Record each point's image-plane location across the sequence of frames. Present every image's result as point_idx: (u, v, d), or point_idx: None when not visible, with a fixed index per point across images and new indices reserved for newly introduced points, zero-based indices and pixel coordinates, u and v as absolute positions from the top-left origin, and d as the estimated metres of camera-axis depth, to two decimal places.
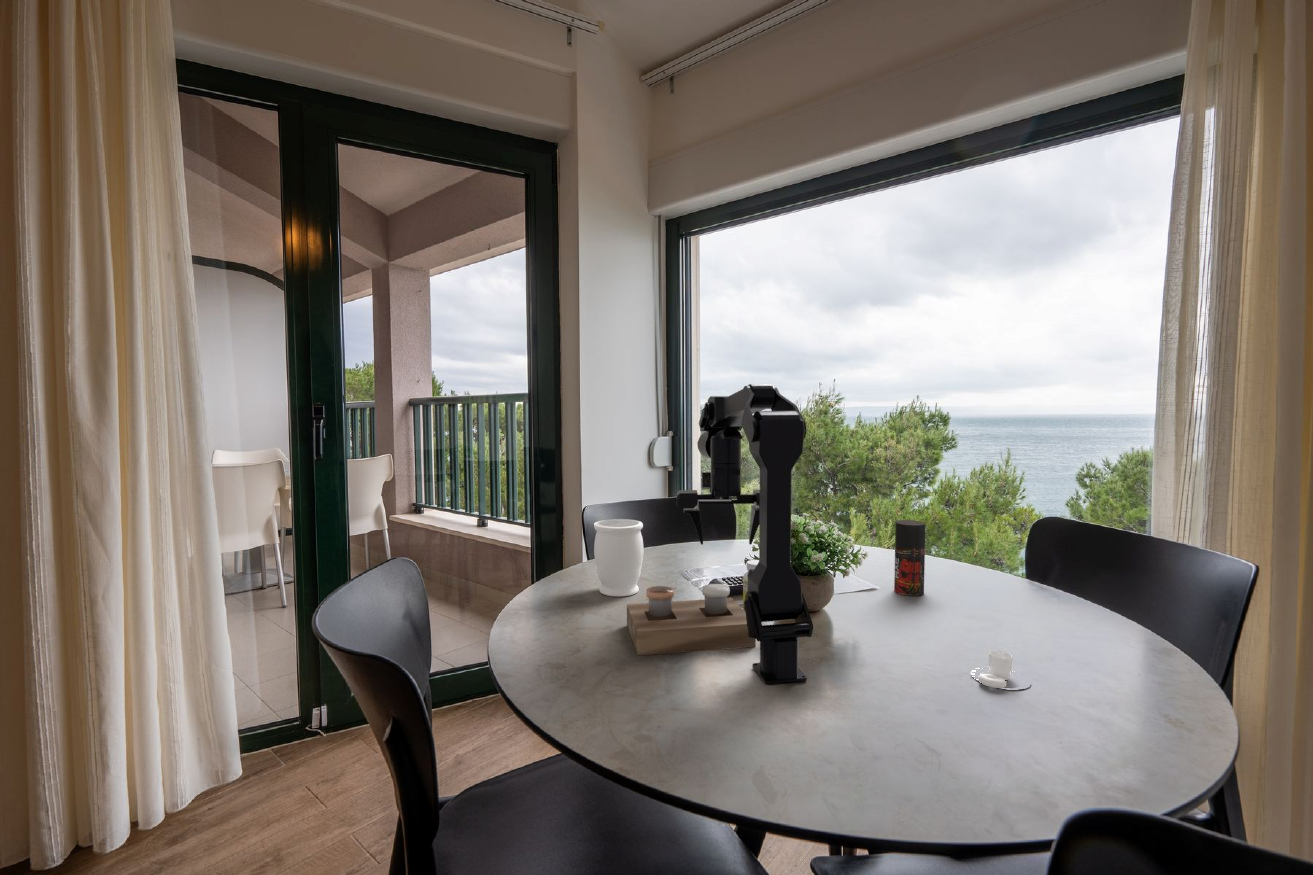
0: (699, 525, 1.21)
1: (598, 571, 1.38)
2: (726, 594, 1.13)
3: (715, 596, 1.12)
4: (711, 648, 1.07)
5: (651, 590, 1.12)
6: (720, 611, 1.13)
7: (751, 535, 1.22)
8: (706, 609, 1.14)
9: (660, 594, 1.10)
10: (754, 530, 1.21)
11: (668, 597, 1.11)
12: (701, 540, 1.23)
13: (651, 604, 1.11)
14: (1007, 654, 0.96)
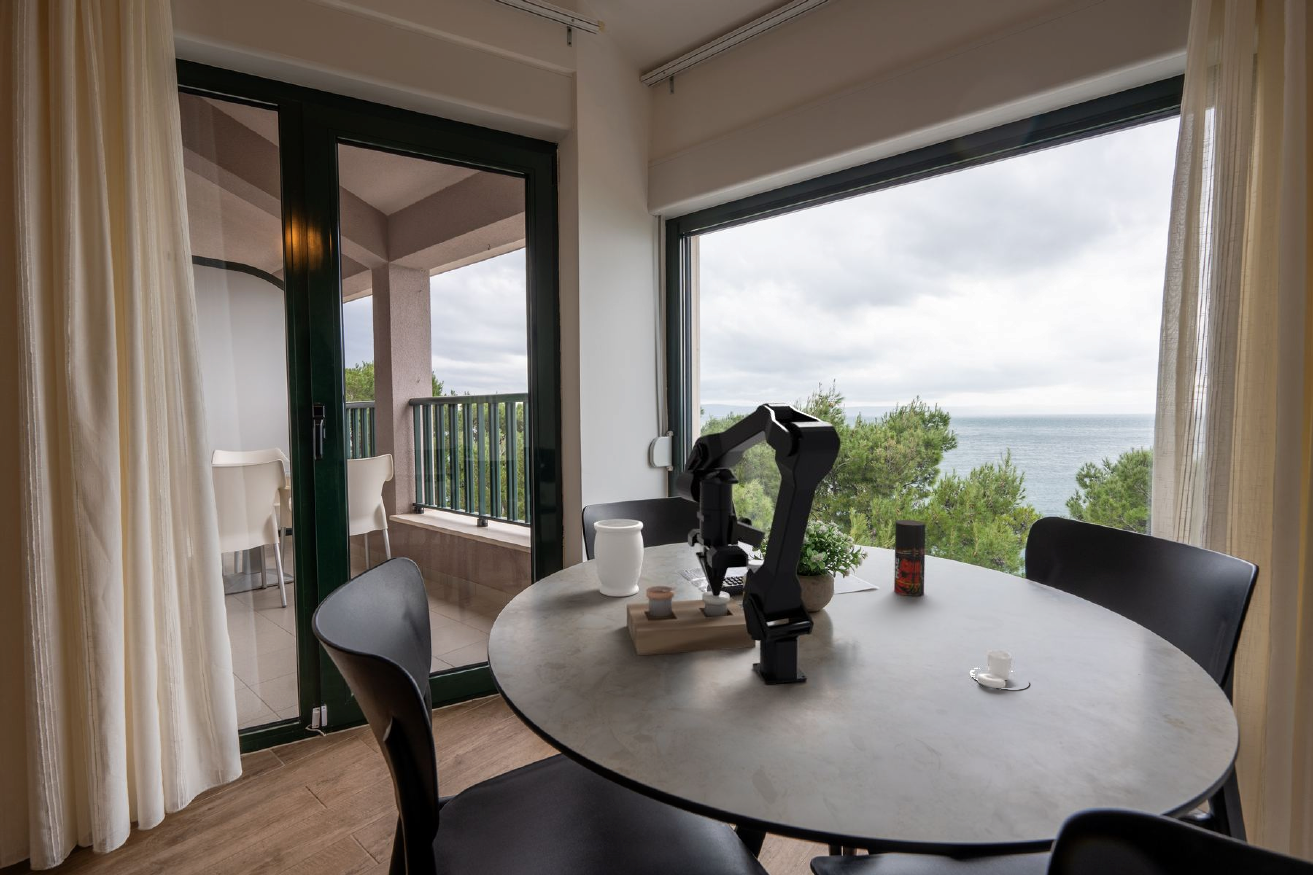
0: (704, 572, 1.14)
1: (598, 571, 1.38)
2: (726, 601, 1.13)
3: (715, 603, 1.12)
4: (711, 648, 1.07)
5: (651, 590, 1.12)
6: None
7: (709, 585, 1.14)
8: (706, 616, 1.14)
9: (660, 594, 1.10)
10: (708, 580, 1.13)
11: (668, 597, 1.11)
12: (711, 589, 1.14)
13: (651, 604, 1.11)
14: (1006, 654, 0.97)
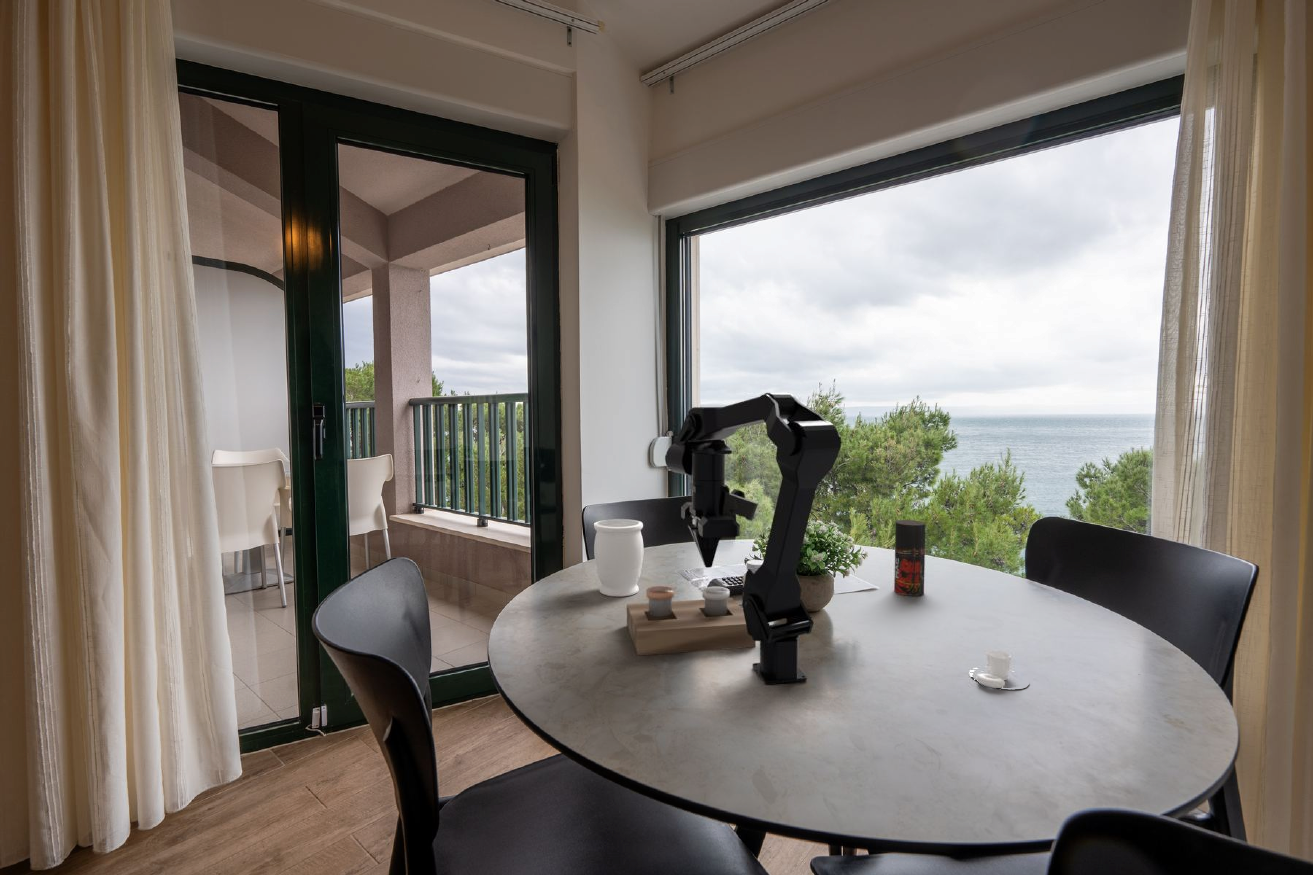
0: (696, 544, 1.14)
1: (598, 571, 1.38)
2: (726, 597, 1.13)
3: (715, 599, 1.12)
4: (711, 648, 1.07)
5: (651, 590, 1.12)
6: (720, 614, 1.13)
7: (701, 557, 1.13)
8: (706, 612, 1.14)
9: (660, 594, 1.10)
10: (700, 552, 1.13)
11: (668, 597, 1.11)
12: (703, 561, 1.14)
13: (651, 604, 1.11)
14: (1005, 654, 0.97)
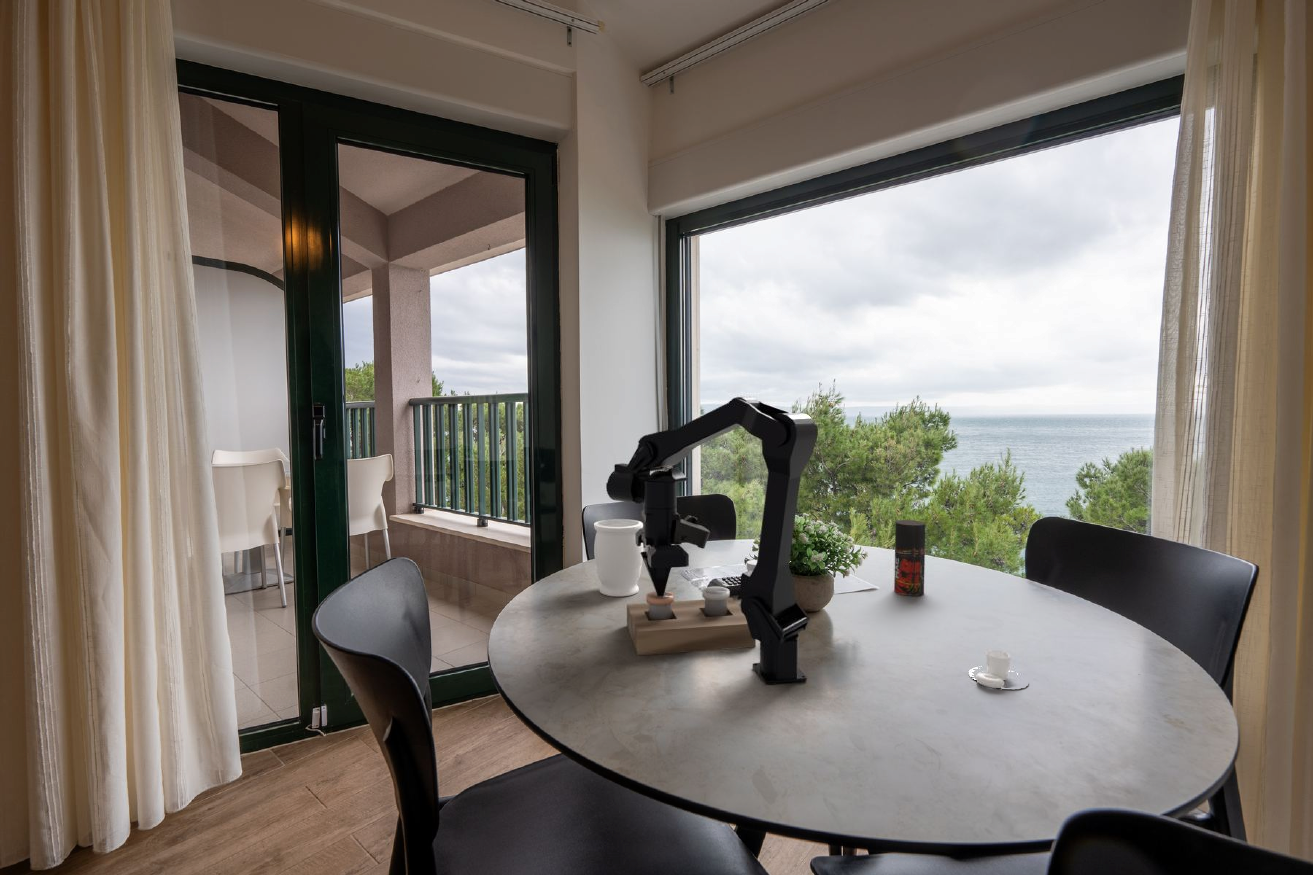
0: (648, 572, 1.13)
1: (598, 571, 1.38)
2: (726, 597, 1.13)
3: (715, 599, 1.12)
4: (711, 648, 1.07)
5: (651, 595, 1.12)
6: (720, 614, 1.13)
7: (653, 585, 1.12)
8: (706, 612, 1.14)
9: (660, 599, 1.10)
10: (652, 580, 1.11)
11: (668, 603, 1.11)
12: (655, 590, 1.13)
13: (651, 609, 1.12)
14: (1005, 654, 0.97)
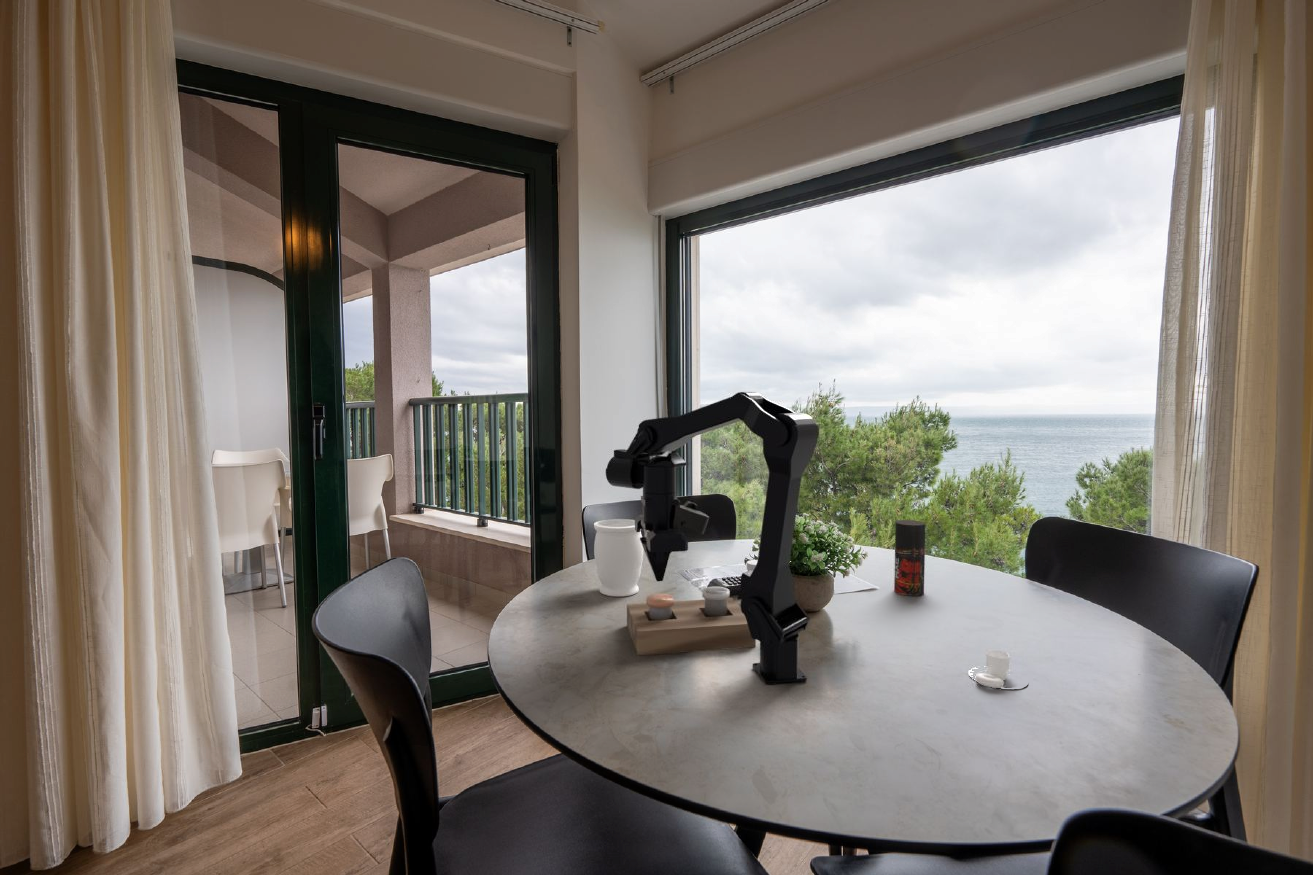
0: (647, 557, 1.13)
1: (598, 571, 1.38)
2: (726, 597, 1.13)
3: (715, 599, 1.12)
4: (711, 648, 1.07)
5: (652, 598, 1.12)
6: (720, 614, 1.13)
7: (652, 570, 1.12)
8: (706, 612, 1.14)
9: (660, 602, 1.10)
10: (651, 565, 1.11)
11: (668, 605, 1.11)
12: (654, 575, 1.13)
13: (651, 612, 1.12)
14: (1004, 654, 0.97)
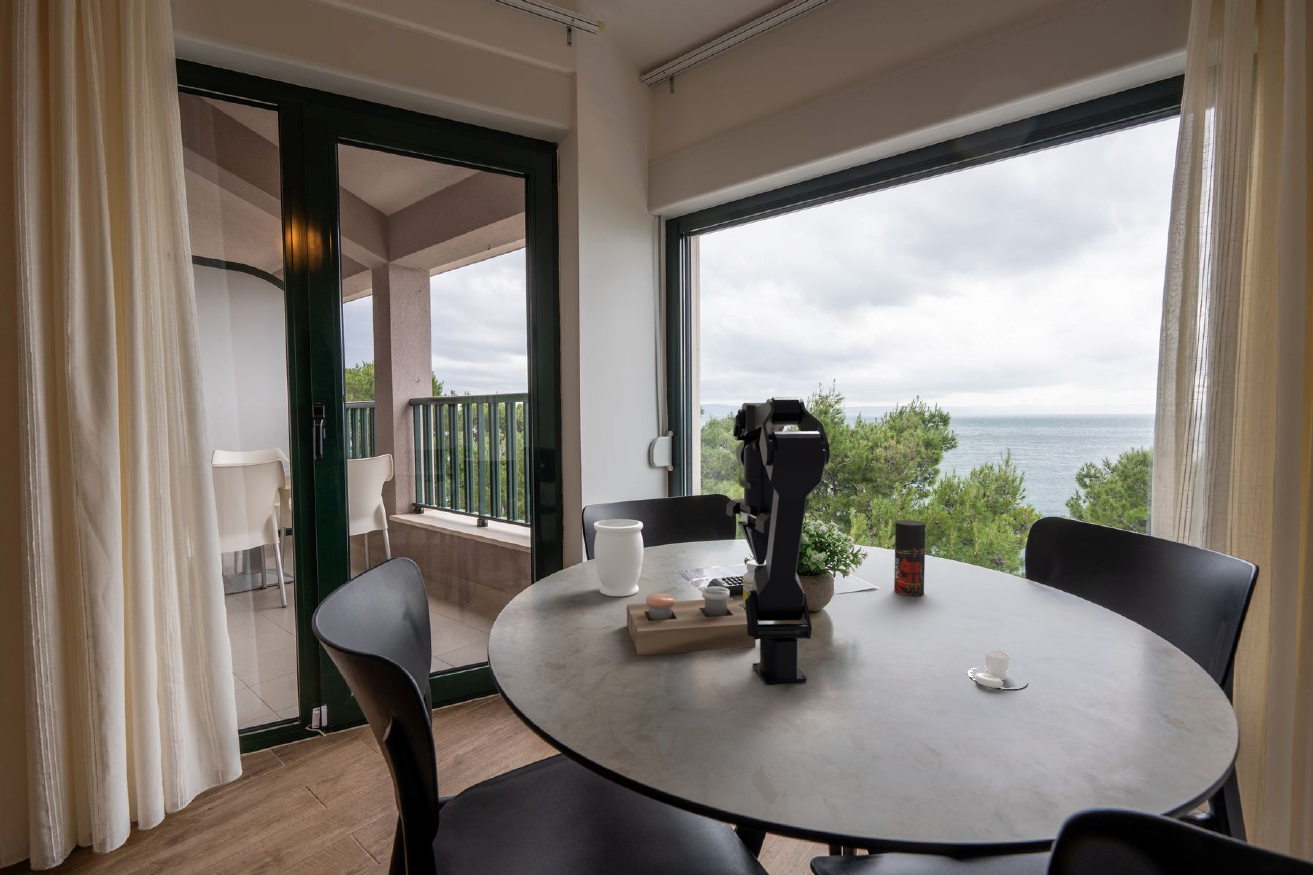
0: (748, 541, 1.13)
1: (598, 571, 1.38)
2: (726, 597, 1.13)
3: (715, 599, 1.12)
4: (711, 648, 1.07)
5: (652, 598, 1.12)
6: (720, 614, 1.13)
7: (754, 554, 1.12)
8: (706, 612, 1.14)
9: (660, 602, 1.10)
10: (753, 549, 1.12)
11: (668, 605, 1.11)
12: (755, 558, 1.13)
13: (651, 612, 1.12)
14: (1004, 654, 0.97)
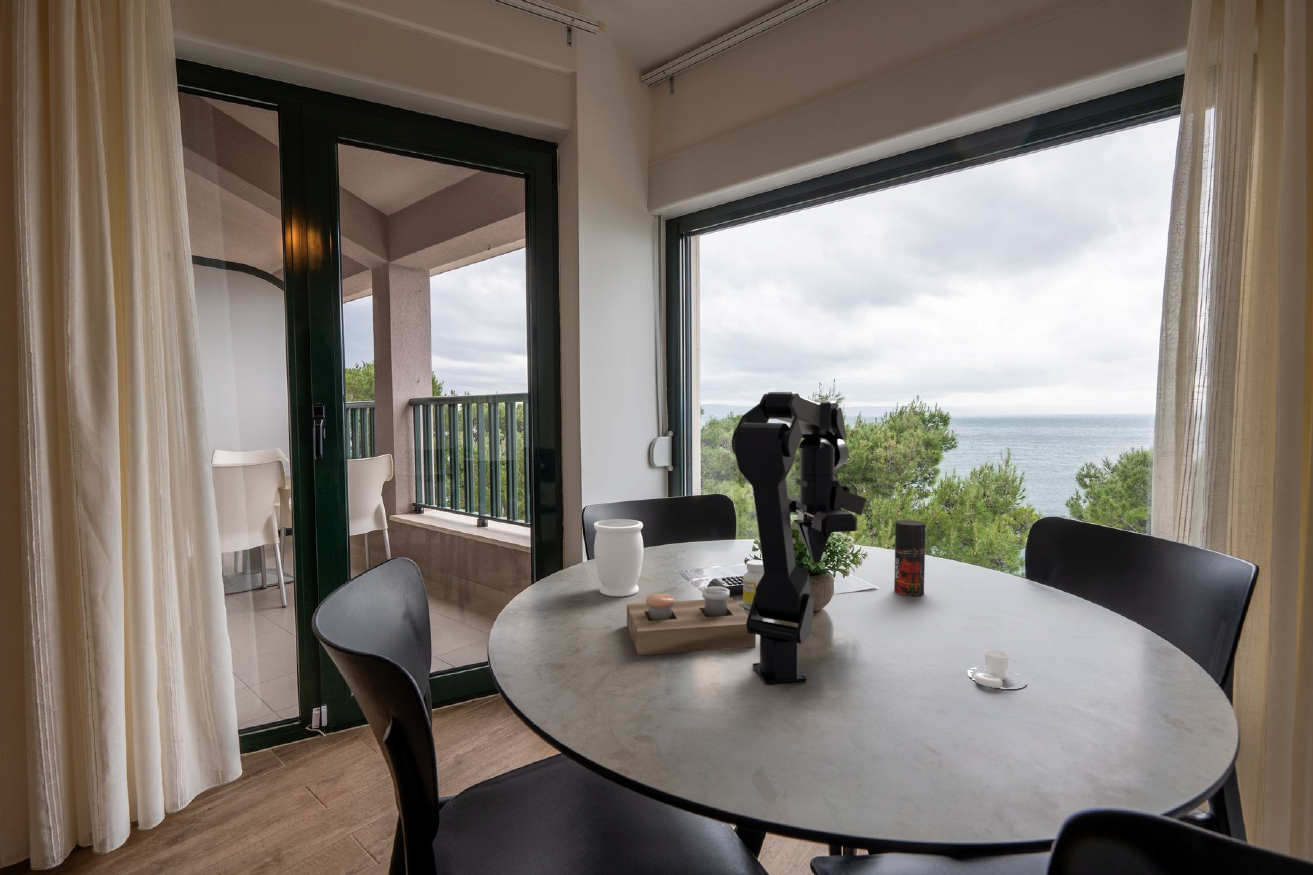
0: (804, 539, 1.13)
1: (598, 571, 1.38)
2: (726, 597, 1.13)
3: (715, 599, 1.12)
4: (711, 648, 1.07)
5: (652, 598, 1.12)
6: (720, 614, 1.13)
7: (810, 552, 1.12)
8: (706, 612, 1.14)
9: (660, 602, 1.10)
10: (809, 547, 1.12)
11: (668, 605, 1.11)
12: (811, 557, 1.13)
13: (651, 612, 1.12)
14: (1003, 653, 0.97)
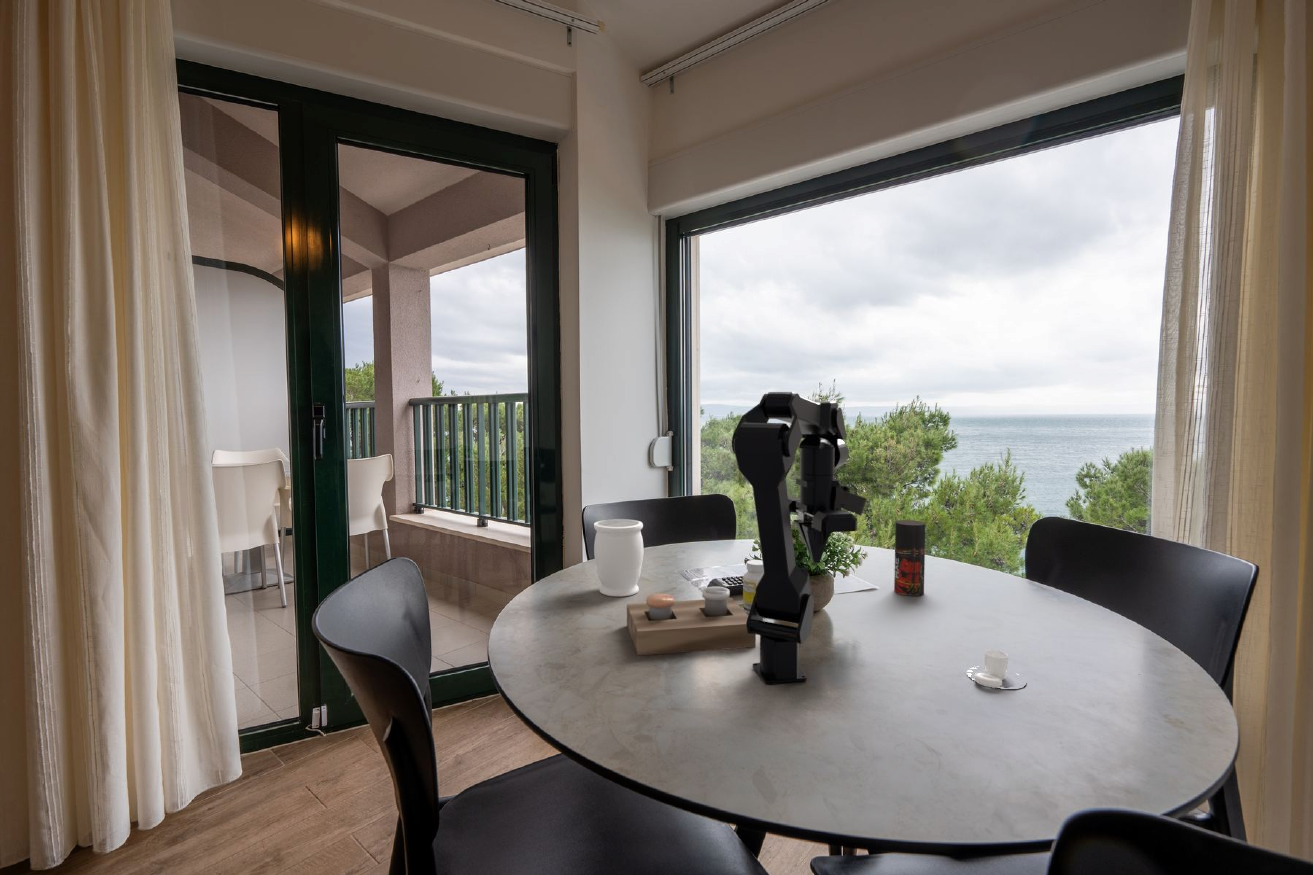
0: (804, 539, 1.13)
1: (598, 571, 1.38)
2: (726, 597, 1.13)
3: (715, 599, 1.12)
4: (711, 648, 1.07)
5: (652, 598, 1.12)
6: (720, 614, 1.13)
7: (810, 552, 1.12)
8: (706, 612, 1.14)
9: (660, 602, 1.10)
10: (809, 547, 1.12)
11: (668, 605, 1.11)
12: (811, 557, 1.13)
13: (651, 612, 1.12)
14: (1003, 653, 0.97)
